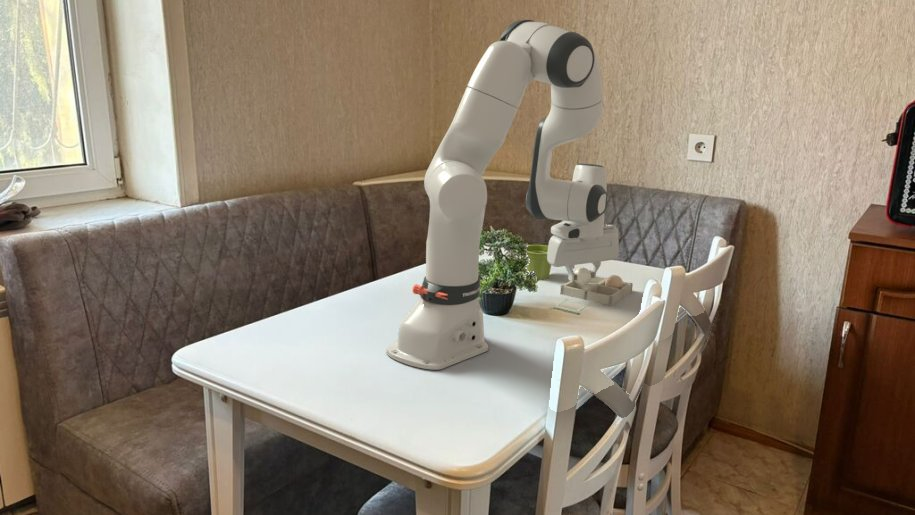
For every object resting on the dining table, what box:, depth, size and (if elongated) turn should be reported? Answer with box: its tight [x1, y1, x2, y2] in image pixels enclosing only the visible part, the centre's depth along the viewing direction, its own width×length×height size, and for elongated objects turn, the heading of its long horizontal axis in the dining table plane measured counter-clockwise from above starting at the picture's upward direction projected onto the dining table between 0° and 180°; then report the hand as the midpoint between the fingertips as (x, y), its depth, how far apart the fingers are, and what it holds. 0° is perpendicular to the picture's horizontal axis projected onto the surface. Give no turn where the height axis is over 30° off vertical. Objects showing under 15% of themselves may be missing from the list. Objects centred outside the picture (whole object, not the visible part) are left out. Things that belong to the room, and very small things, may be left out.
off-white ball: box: [573, 267, 591, 285], centre depth 177 cm, size 5×5×5 cm
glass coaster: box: [553, 298, 589, 316], centre depth 170 cm, size 6×6×1 cm
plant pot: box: [526, 244, 552, 282], centre depth 191 cm, size 9×9×9 cm
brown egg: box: [605, 274, 624, 289], centre depth 180 cm, size 5×5×5 cm
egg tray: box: [560, 275, 633, 307], centre depth 179 cm, size 14×14×3 cm
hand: (581, 279), depth 178 cm, fingers closed on off-white ball, 5 cm apart
